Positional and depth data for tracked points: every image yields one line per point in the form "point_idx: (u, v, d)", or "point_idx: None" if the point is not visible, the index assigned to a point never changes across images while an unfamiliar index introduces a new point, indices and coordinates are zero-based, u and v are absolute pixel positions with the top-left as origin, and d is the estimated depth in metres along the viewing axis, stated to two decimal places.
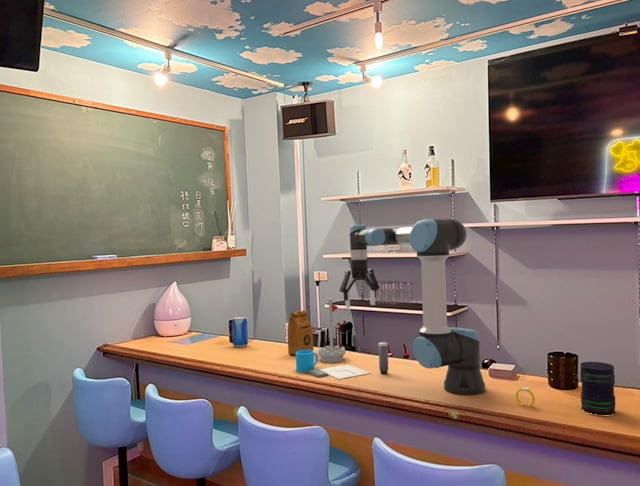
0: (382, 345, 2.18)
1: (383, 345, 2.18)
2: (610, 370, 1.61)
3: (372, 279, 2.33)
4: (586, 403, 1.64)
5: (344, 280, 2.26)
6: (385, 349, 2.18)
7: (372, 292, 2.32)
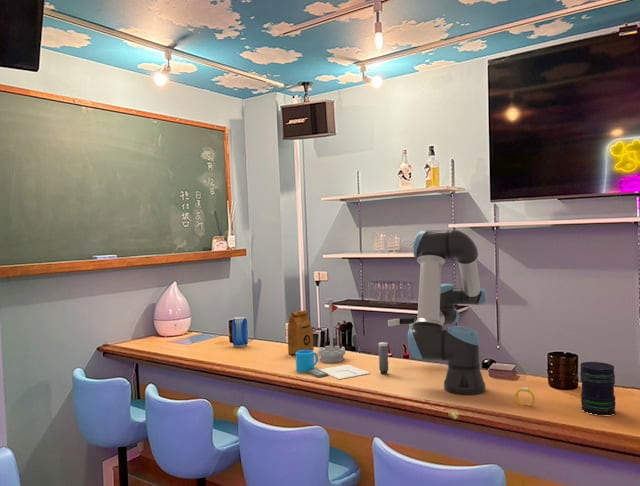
0: (382, 345, 2.18)
1: (383, 345, 2.18)
2: (610, 370, 1.61)
3: None
4: (586, 403, 1.64)
5: None
6: (385, 349, 2.18)
7: None
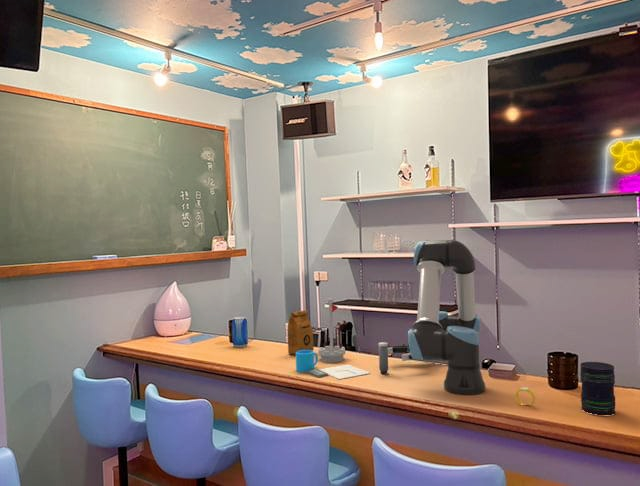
0: (382, 345, 2.18)
1: (383, 345, 2.18)
2: (610, 370, 1.61)
3: None
4: (586, 403, 1.64)
5: None
6: (385, 349, 2.18)
7: None
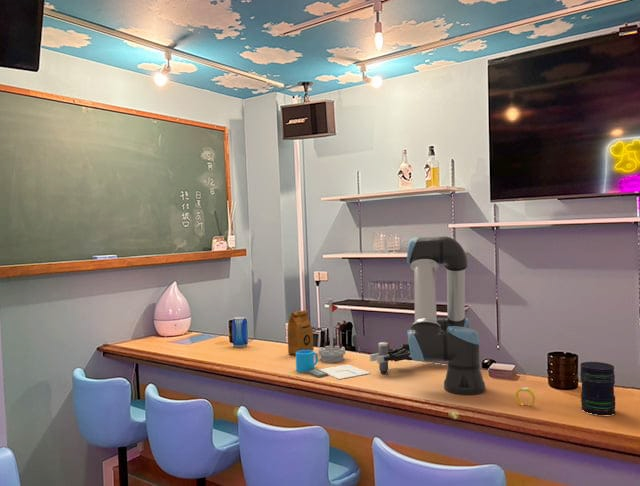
0: (382, 345, 2.18)
1: (383, 345, 2.18)
2: (610, 370, 1.61)
3: None
4: (586, 403, 1.64)
5: None
6: (385, 349, 2.18)
7: None
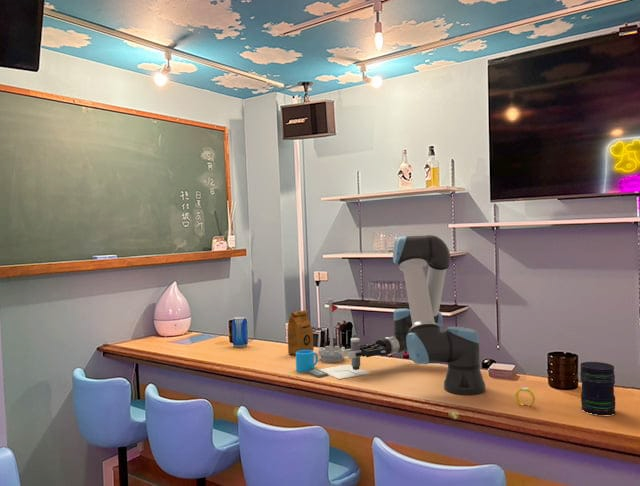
0: (353, 341, 2.17)
1: (355, 341, 2.17)
2: (610, 370, 1.61)
3: None
4: (586, 403, 1.64)
5: None
6: (357, 345, 2.17)
7: None
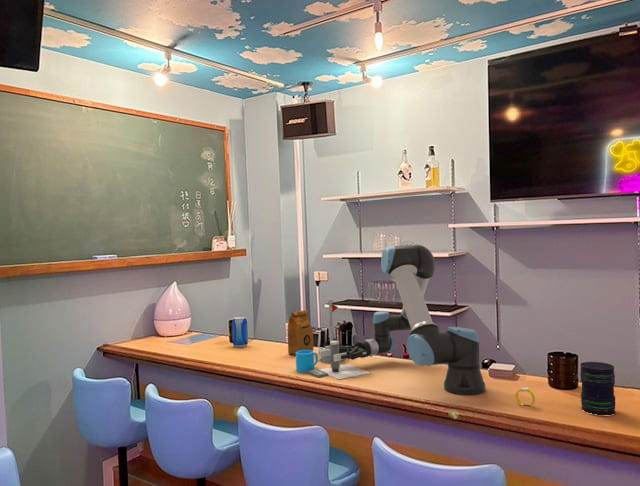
0: (333, 344, 2.22)
1: (334, 343, 2.22)
2: (610, 370, 1.61)
3: None
4: (586, 403, 1.64)
5: None
6: (336, 347, 2.22)
7: None
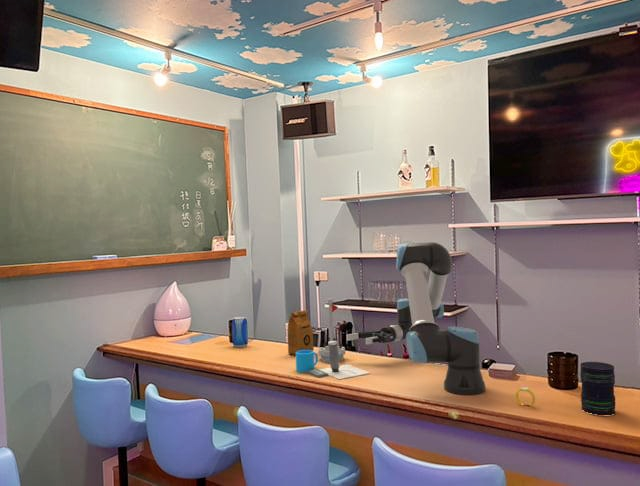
0: (331, 344, 2.22)
1: (332, 343, 2.22)
2: (610, 370, 1.61)
3: None
4: (586, 403, 1.64)
5: None
6: (334, 347, 2.22)
7: None
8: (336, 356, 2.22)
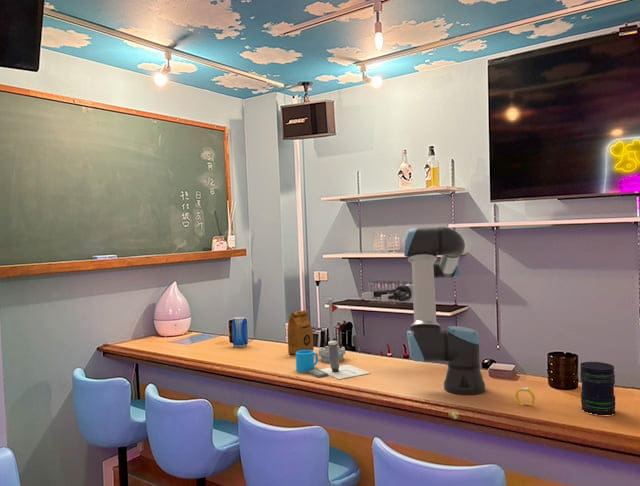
0: (331, 344, 2.22)
1: (332, 343, 2.22)
2: (610, 370, 1.61)
3: None
4: (586, 403, 1.64)
5: None
6: (334, 347, 2.22)
7: None
8: (336, 356, 2.22)
